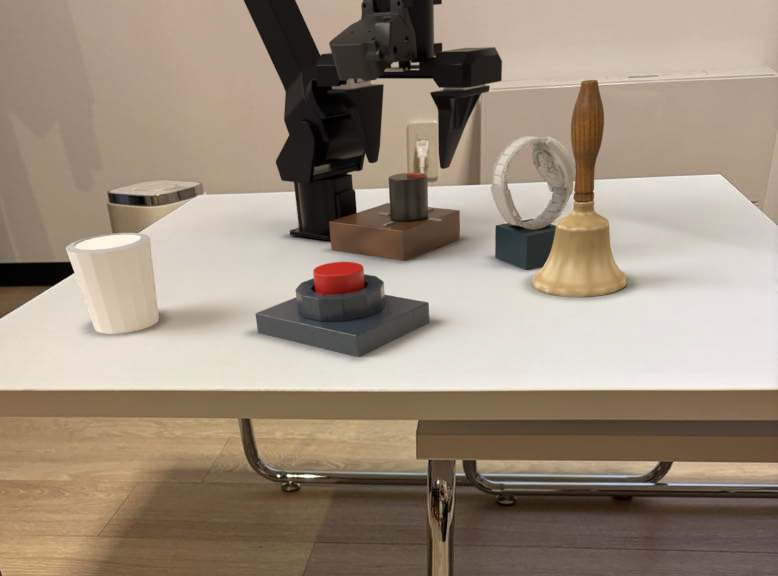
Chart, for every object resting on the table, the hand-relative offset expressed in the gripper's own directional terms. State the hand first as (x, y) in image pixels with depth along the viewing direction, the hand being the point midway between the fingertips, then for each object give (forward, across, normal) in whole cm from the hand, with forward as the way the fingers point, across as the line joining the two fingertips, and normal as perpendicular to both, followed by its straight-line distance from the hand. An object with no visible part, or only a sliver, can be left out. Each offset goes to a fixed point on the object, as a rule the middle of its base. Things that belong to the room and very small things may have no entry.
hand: (407, 165), depth 84 cm
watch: (+8, +14, +1) cm, 16 cm away
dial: (+5, 0, 0) cm, 5 cm away
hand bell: (+8, +22, -4) cm, 24 cm away
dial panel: (+8, -2, 0) cm, 8 cm away
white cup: (+8, -7, -32) cm, 34 cm away
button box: (+8, +11, -24) cm, 27 cm away
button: (+5, +11, -24) cm, 26 cm away
